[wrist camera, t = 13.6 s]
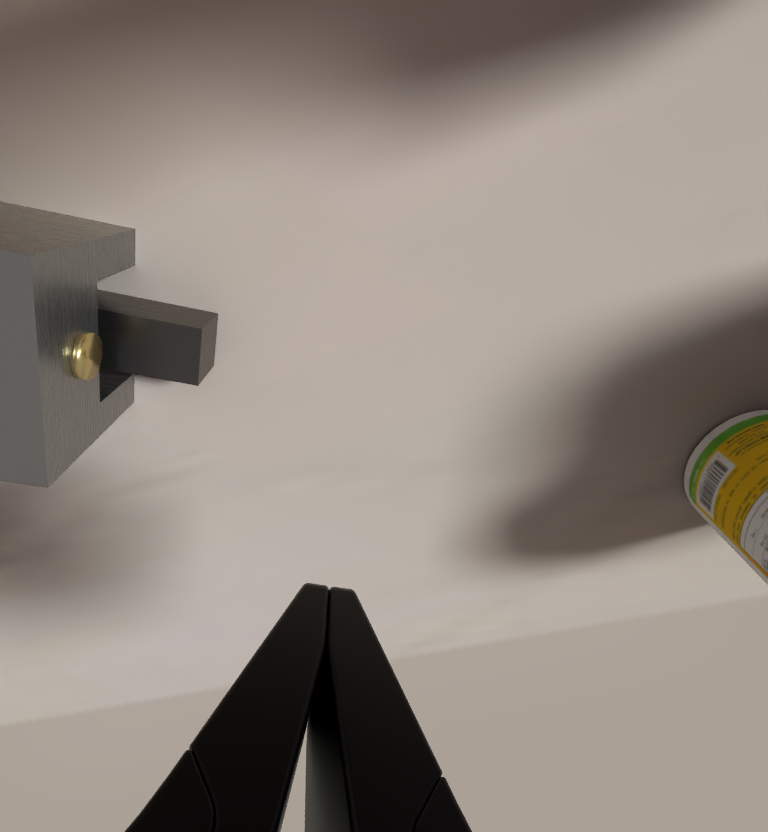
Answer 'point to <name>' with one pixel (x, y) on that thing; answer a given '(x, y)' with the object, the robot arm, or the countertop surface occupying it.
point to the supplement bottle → (734, 485)
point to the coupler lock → (55, 340)
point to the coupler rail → (155, 338)
